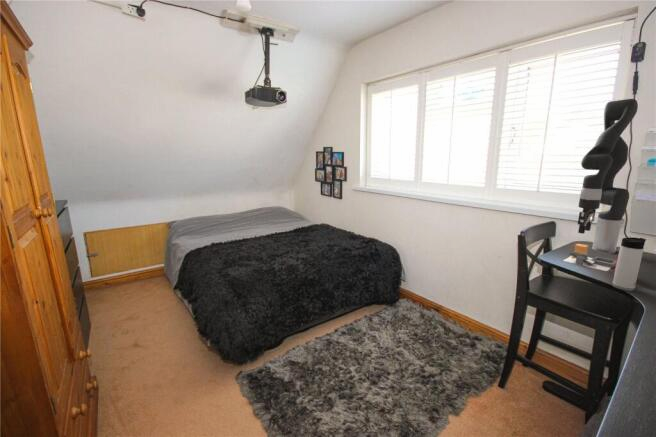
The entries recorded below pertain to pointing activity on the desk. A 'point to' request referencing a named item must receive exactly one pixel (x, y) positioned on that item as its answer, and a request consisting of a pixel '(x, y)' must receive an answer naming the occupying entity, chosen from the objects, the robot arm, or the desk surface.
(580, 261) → the switch mount
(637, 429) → the desk surface
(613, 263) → the lockout socket
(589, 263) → the breaker rocker
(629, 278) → the travel mug
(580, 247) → the block
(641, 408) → the desk surface
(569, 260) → the breaker panel
